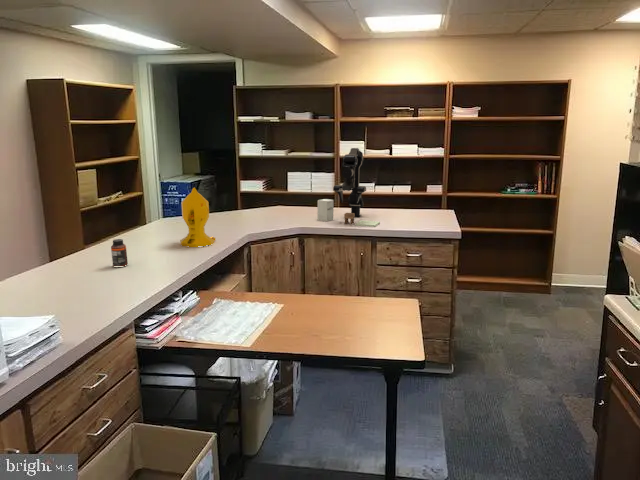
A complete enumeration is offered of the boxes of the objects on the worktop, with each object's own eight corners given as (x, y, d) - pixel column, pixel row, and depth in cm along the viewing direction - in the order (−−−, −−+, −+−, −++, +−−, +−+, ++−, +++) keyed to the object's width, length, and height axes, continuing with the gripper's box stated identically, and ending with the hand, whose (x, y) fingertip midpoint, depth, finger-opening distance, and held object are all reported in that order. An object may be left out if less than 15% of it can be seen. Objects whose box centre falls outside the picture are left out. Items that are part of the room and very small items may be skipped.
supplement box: (326, 221, 316) (326, 201, 313) (317, 220, 320) (317, 200, 317) (333, 219, 321) (333, 199, 319) (324, 218, 326) (324, 198, 323)
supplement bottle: (123, 263, 223) (120, 237, 221) (130, 265, 220) (128, 239, 217) (110, 266, 219) (107, 240, 216) (117, 268, 215) (115, 242, 213)
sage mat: (360, 221, 315) (360, 220, 314) (379, 223, 311) (379, 221, 311) (355, 225, 304) (355, 223, 303) (375, 226, 300) (375, 225, 300)
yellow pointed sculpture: (204, 237, 274) (202, 184, 268) (224, 245, 255) (222, 188, 248) (172, 241, 264) (168, 186, 258) (190, 250, 245) (187, 191, 239)
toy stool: (346, 222, 313) (346, 212, 312) (354, 223, 311) (354, 213, 310) (344, 224, 308) (344, 214, 307) (352, 224, 307) (352, 214, 305)
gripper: (330, 177, 299) (330, 204, 303) (361, 178, 293) (361, 206, 297) (336, 175, 309) (336, 201, 313) (366, 176, 303) (366, 203, 307)
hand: (349, 203), depth 307 cm, fingers open, 9 cm apart
